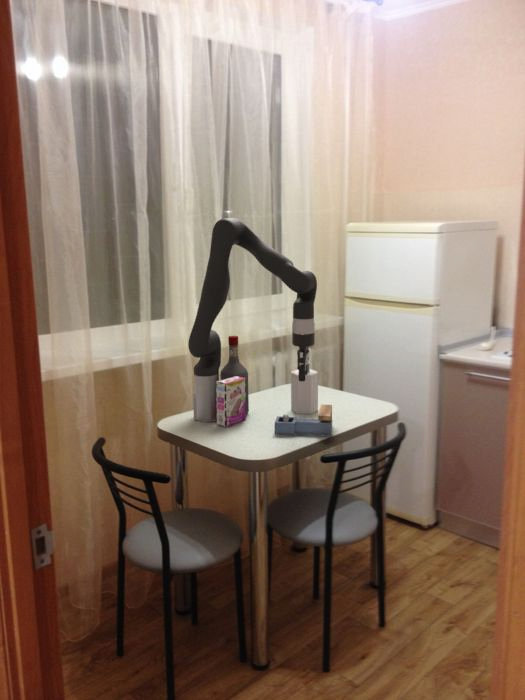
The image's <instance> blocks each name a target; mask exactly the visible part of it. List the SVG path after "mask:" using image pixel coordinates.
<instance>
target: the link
mask: <svg viewBox="0 0 525 700" xmlns="http://www.w3.org/2000/svg"><path fill="white" fill-rule="evenodd" d="M274 435H275V436H288V437H291V436H292V437H295V436H296V435H301V436H302V435H303V436H304V435H305V436H322V437H323V436H326V437H329V436H330V437H331V436H333V419H332V420H318V418H298V417H297V416H289V422H283V416H278V415H277V416H276V419H275V421H274Z"/></svg>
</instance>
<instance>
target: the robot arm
mask: <svg viewBox="0 0 525 700" xmlns="http://www.w3.org/2000/svg"><path fill="white" fill-rule="evenodd" d="M233 245H234V246H235V245H236V246H239V247H240V248H243V249H244V250H246V251H248V252H249V253H250V254H251V255H252V256H253V257H254V258H255V259H256V261H257V262H258V263H259V264H260V265H261V266H262V267H263V268H264V269H265V270H266V271H269V272H270V273H271V274H273V275H274V276H275V277H277V278H279V279H280V280H281V281H282V283H284V284H285V286H287V288H289V289H290V290H291V291H292V292H294V293H296V299H295V300H294V301H293V305H292V324H291V326H292V327H291V328H292V329H291V332H292V333H291V338H292V341H291V343H292V346H294V347H298V349H297V351H296V356H297V357H296V358H297V360H296V364H297V369H298V370H299V381H305V375H307V374H308V363H309V361H310V350H311V349H310V348H309V347H313V346H314V345H315V344H316V342H315V333H316V332H315V331H316V330H315V329H316V328H315V325H316V324H315V323H316V322H315V318H314V317H315V302H316V301H315V300H316V295H317V289H318V281H317V277H316V275H315V274H314V272H312V271H310V270H303V271H302V270H299V268H297V267H295V265H294V263H293V261H292V260H290V259H289V258H287V257H286V256H285V255H284V254H282V253H280V252H279V251H277V250H276V249H274V248H273V247H271V245H269V244H268V243H266V242H265V241H264V240H263V239H262V238H260V237H259V236H258V235H257V234H256V233H255V232H254V231H252V229H250V227H248V225H246V223H244V222H243V221H242V220H241V219H239V218H236V217H226V218H220V219H219V220H217V221H216V222H215V224H214V225H213V228H212V233H211V240H210V249H209V258H208V263H207V266H206V270H205V271H206V272H205V276H204V280H203V283H202V284H203V285H202V288H201V293H200V300H199V303H198V307H197V312H196V316H195V319H194V322H193V325H192V328H191V332H190V334H189V338H188V344H187V345H188V351H189V354H190V355H192V356H193V357H195V358H199V360H198V361H197V363H196V364H195V365H194V366H193V387H194V388H193V389H194V393H193V395H192V400H193V401H192V402H193V403H192V404H193V407H192V408H193V421H198V422H203V423H205V422H208V423H209V422H210V423H211V422H215V421H216V422H217V408H216V405H217V404H216V403H217V402H216V382H217V381H220V367H221V364H222V363H221V361H222V343H221V337H220V335H219V334H218V333H217V331H215V330H213V329H212V327H213V324H214V323H215V321H216V319H217V317H218V315H220V313H221V311H222V310H223V308H224V306H225V304H226V302H227V299H228V295H229V292H230V291H229V290H230V286H231V276H230V271H229V260H230V255H231V252H232V249H233ZM300 365H301V366H300ZM297 369H296V370H297Z"/></svg>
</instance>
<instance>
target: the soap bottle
mask: <svg viewBox="0 0 525 700" xmlns="http://www.w3.org/2000/svg"><path fill="white" fill-rule="evenodd" d="M300 366H301V365H300ZM310 367H311V366H310V363H309V362H308V374H307V375H305V381H299V370H298V369H295V370H291V372H290V398H291V399H290V402H291V403H290V410H291V411H292V412H294V413H296V414H298V415H299V414H301V415H305V414H306V415H311V414H313V413H316V412H317V411H318V410H319V371H316V370H314V369H312V368H310ZM315 411H316V412H315Z"/></svg>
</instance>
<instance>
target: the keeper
mask: <svg viewBox="0 0 525 700" xmlns="http://www.w3.org/2000/svg"><path fill="white" fill-rule="evenodd" d="M318 410H319V411H318V416H317V419H318V420H332V421H333V405H332V404H320V407H319V409H318Z"/></svg>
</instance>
